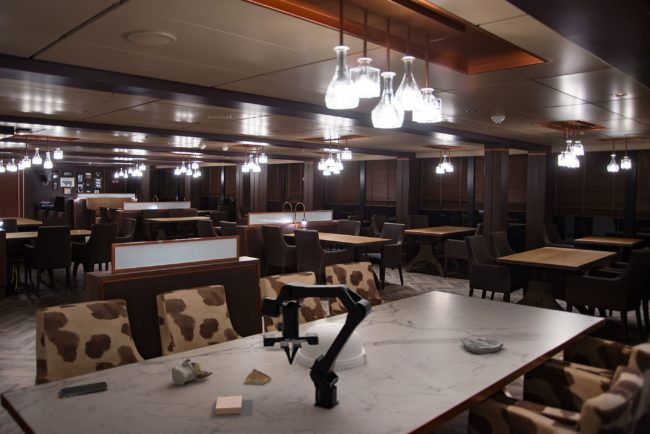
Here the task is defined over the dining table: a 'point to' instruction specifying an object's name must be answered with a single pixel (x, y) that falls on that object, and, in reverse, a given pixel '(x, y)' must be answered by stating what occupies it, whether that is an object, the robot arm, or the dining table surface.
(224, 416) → the mat
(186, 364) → the ceramic sculpture
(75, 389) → the phone
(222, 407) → the tile
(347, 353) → the dome cover
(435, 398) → the dining table surface
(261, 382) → the shard
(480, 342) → the flat grey rock
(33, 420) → the dining table surface
